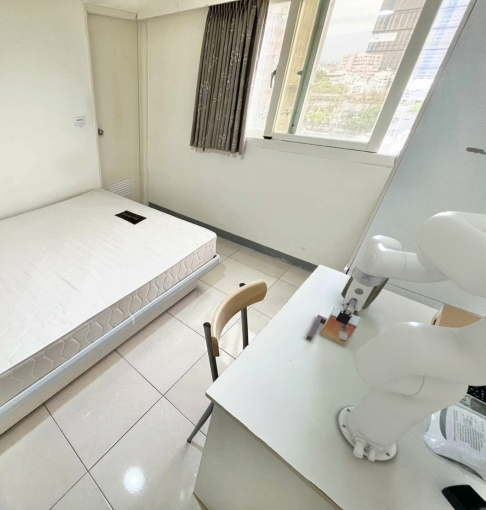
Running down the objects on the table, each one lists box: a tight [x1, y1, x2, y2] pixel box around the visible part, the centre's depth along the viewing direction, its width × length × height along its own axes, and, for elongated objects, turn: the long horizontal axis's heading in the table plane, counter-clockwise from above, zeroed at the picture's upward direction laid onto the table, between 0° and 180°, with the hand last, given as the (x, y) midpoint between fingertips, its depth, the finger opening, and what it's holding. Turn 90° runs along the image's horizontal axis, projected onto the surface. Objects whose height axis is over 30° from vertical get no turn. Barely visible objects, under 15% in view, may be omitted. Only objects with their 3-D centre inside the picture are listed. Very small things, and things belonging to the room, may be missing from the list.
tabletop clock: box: [340, 274, 390, 316], centre depth 105 cm, size 14×9×25 cm, turn 126°
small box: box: [319, 306, 361, 347], centre depth 95 cm, size 8×6×10 cm
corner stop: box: [305, 314, 328, 342], centre depth 98 cm, size 14×11×2 cm
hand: (344, 314), depth 92 cm, fingers open, 9 cm apart
